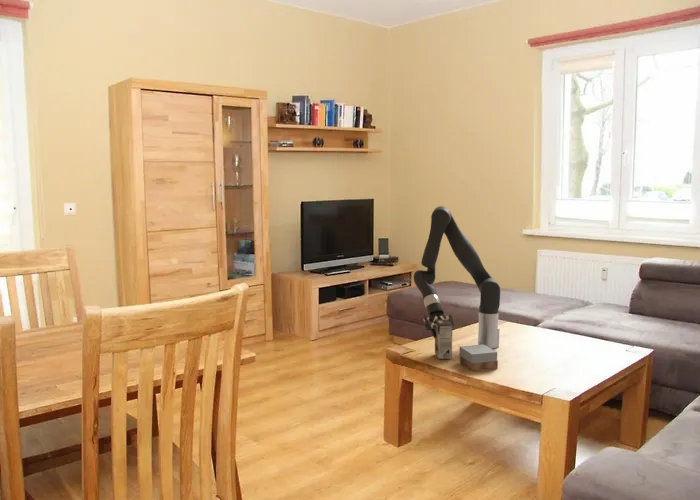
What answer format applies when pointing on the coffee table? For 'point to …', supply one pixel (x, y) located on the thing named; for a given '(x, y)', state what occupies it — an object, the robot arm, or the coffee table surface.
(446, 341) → the coffee box
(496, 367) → the base slab
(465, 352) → the top slab
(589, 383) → the coffee table surface
